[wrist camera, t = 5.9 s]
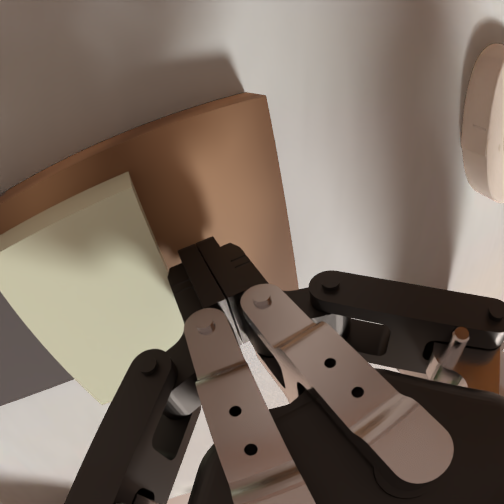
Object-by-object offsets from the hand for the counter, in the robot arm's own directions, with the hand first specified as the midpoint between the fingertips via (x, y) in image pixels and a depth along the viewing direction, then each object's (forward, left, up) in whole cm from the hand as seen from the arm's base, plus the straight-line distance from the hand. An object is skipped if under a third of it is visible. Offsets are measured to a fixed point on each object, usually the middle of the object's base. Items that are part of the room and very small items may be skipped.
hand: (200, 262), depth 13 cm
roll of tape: (-29, 0, -4) cm, 30 cm away
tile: (+4, 0, -1) cm, 4 cm away
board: (+2, 0, -3) cm, 3 cm away
